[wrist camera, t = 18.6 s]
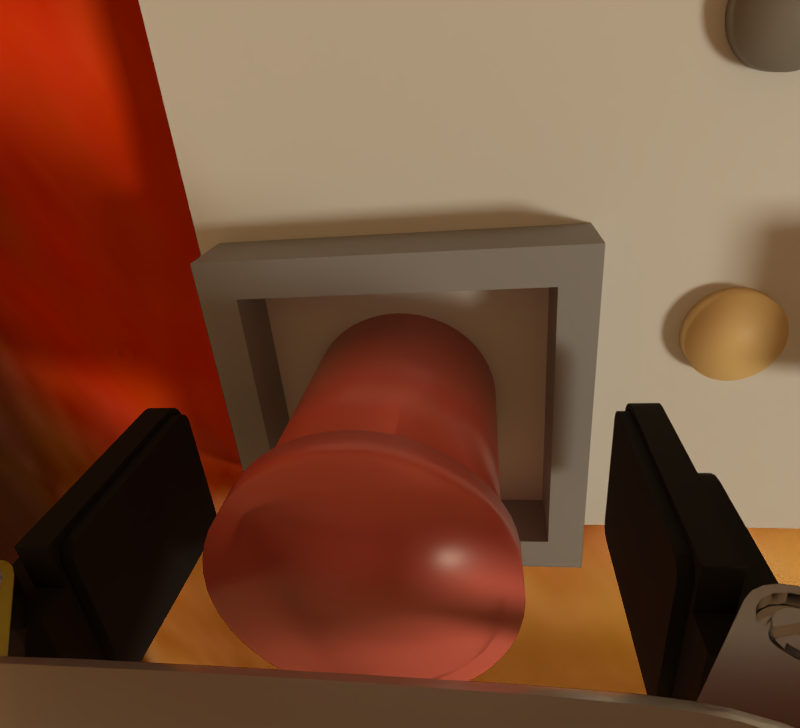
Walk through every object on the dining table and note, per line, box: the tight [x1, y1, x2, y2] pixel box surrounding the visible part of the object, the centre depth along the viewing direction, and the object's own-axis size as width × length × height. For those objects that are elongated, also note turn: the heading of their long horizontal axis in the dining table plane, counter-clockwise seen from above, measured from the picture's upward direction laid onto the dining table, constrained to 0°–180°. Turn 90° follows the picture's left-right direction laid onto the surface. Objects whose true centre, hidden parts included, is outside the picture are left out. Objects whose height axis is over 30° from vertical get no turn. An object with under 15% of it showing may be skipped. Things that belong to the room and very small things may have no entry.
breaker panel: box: [138, 0, 800, 568], centre depth 12 cm, size 25×15×4 cm, turn 95°
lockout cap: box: [202, 313, 525, 681], centre depth 12 cm, size 5×5×6 cm
